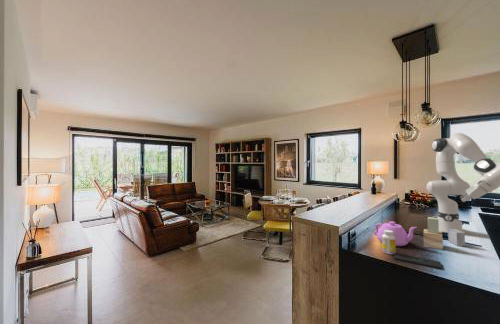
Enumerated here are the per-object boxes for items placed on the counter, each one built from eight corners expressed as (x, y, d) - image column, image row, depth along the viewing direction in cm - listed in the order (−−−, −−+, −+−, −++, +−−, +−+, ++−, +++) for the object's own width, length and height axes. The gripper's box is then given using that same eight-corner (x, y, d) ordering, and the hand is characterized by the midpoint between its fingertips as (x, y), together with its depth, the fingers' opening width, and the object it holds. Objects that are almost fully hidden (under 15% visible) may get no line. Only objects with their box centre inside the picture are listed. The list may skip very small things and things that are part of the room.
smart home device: (442, 267, 106) (393, 257, 119) (442, 271, 106) (393, 260, 119) (440, 261, 113) (394, 252, 125) (440, 264, 113) (394, 255, 125)
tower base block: (424, 242, 143) (424, 235, 143) (442, 245, 137) (442, 238, 137) (423, 246, 136) (423, 239, 137) (442, 250, 131) (442, 242, 131)
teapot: (369, 240, 147) (368, 220, 148) (379, 235, 159) (378, 216, 159) (413, 252, 128) (413, 229, 128) (421, 244, 139) (421, 223, 139)
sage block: (428, 230, 140) (428, 216, 140) (438, 232, 137) (438, 218, 137) (427, 232, 137) (427, 218, 137) (438, 234, 133) (437, 219, 133)
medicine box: (465, 246, 135) (465, 232, 135) (457, 246, 136) (456, 232, 136) (456, 242, 143) (455, 229, 143) (448, 241, 144) (448, 228, 144)
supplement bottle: (396, 252, 128) (396, 230, 128) (394, 256, 123) (394, 233, 123) (383, 249, 132) (383, 228, 132) (381, 252, 127) (380, 231, 127)
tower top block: (423, 235, 144) (423, 228, 144) (442, 238, 138) (441, 231, 138) (423, 239, 137) (423, 232, 137) (442, 242, 131) (442, 235, 131)
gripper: (477, 179, 135) (455, 193, 142) (481, 182, 120) (457, 198, 127) (487, 187, 132) (465, 201, 139) (493, 191, 117) (468, 206, 124)
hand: (461, 199), depth 133 cm, fingers open, 8 cm apart
